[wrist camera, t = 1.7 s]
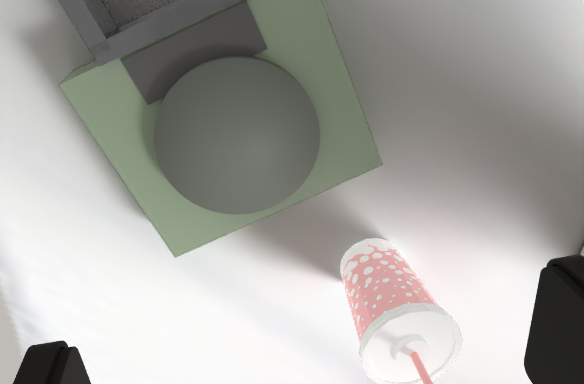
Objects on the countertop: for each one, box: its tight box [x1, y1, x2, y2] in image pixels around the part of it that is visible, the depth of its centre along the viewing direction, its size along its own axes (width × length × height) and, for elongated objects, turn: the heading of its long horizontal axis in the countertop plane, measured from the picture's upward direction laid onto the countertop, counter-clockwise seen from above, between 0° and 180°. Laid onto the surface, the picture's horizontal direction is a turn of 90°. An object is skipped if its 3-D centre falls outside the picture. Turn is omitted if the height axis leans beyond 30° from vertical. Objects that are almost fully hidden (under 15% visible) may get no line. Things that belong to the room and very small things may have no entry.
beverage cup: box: [340, 238, 463, 384], centre depth 31 cm, size 6×6×14 cm
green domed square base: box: [58, 0, 382, 257], centre depth 29 cm, size 14×12×4 cm
